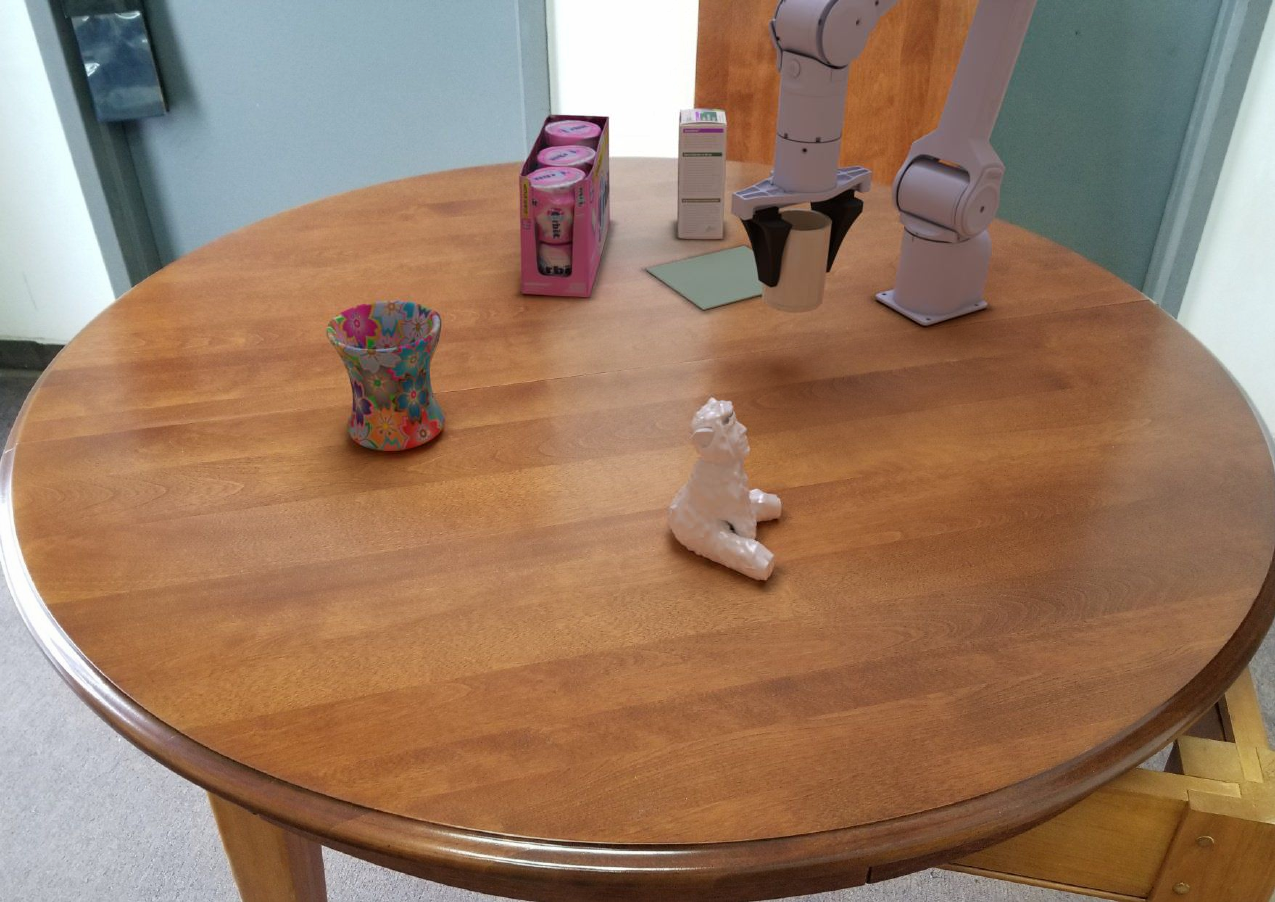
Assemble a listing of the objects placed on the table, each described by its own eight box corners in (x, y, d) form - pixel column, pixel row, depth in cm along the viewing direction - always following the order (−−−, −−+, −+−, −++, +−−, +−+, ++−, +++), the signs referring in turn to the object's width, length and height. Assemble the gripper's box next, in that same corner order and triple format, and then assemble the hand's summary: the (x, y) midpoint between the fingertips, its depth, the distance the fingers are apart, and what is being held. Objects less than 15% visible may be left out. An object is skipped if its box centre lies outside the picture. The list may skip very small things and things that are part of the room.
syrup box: (723, 239, 132) (730, 122, 124) (675, 239, 132) (679, 121, 124) (721, 222, 137) (727, 108, 129) (675, 221, 137) (678, 107, 129)
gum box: (590, 304, 117) (588, 183, 110) (518, 301, 118) (512, 180, 110) (610, 222, 137) (610, 115, 129) (549, 219, 137) (545, 112, 130)
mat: (744, 247, 131) (744, 245, 131) (805, 283, 122) (805, 281, 122) (646, 270, 125) (646, 268, 125) (703, 310, 116) (703, 308, 116)
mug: (407, 471, 90) (393, 360, 84) (321, 443, 94) (302, 334, 88) (487, 406, 99) (479, 301, 93) (406, 382, 103) (393, 280, 97)
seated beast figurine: (772, 587, 78) (787, 450, 72) (656, 573, 80) (660, 437, 73) (781, 511, 86) (794, 381, 80) (675, 499, 87) (679, 370, 81)
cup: (797, 281, 106) (805, 204, 102) (835, 304, 102) (845, 224, 98) (749, 294, 104) (755, 215, 99) (786, 317, 100) (794, 236, 95)
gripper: (843, 109, 100) (827, 246, 108) (714, 133, 94) (707, 276, 101) (895, 129, 95) (874, 271, 103) (763, 156, 89) (751, 305, 96)
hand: (794, 275), depth 102 cm, fingers closed on cup, 6 cm apart
